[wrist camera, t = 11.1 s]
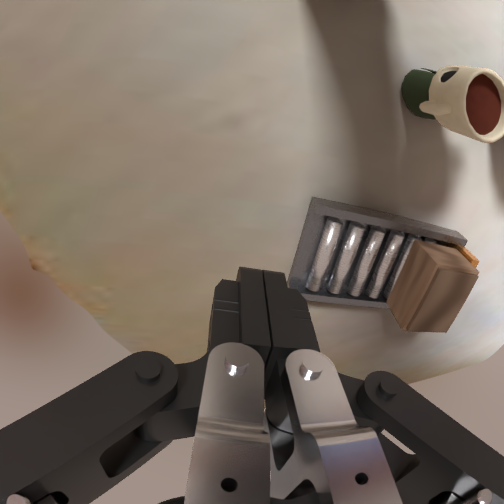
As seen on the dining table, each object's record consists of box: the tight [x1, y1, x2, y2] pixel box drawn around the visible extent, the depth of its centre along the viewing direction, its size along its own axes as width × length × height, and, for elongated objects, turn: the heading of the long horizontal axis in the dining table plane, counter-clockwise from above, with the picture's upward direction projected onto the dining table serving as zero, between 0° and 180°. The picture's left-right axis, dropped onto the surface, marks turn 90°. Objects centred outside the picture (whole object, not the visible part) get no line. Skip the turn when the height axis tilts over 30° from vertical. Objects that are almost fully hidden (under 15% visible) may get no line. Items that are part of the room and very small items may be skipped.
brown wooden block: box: [387, 240, 479, 332], centre depth 38 cm, size 8×10×7 cm
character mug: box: [402, 66, 504, 143], centre depth 26 cm, size 11×7×13 cm, turn 109°
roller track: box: [287, 197, 479, 309], centre depth 40 cm, size 24×13×7 cm, turn 79°
